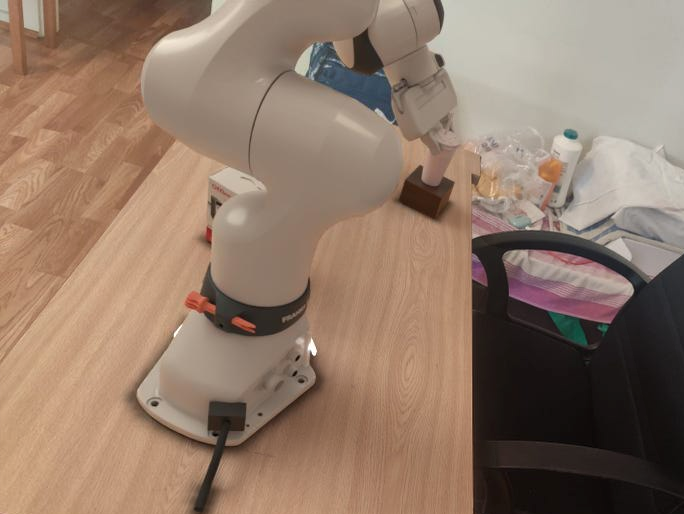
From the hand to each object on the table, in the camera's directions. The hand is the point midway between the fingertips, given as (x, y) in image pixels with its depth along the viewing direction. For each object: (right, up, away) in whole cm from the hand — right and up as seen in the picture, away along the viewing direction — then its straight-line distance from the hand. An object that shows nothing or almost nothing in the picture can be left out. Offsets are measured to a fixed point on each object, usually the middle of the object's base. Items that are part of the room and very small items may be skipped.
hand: (445, 146), depth 114 cm
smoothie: (-3, -5, +5) cm, 8 cm away
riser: (-5, -8, +9) cm, 13 cm away
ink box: (-32, -23, -19) cm, 43 cm away
